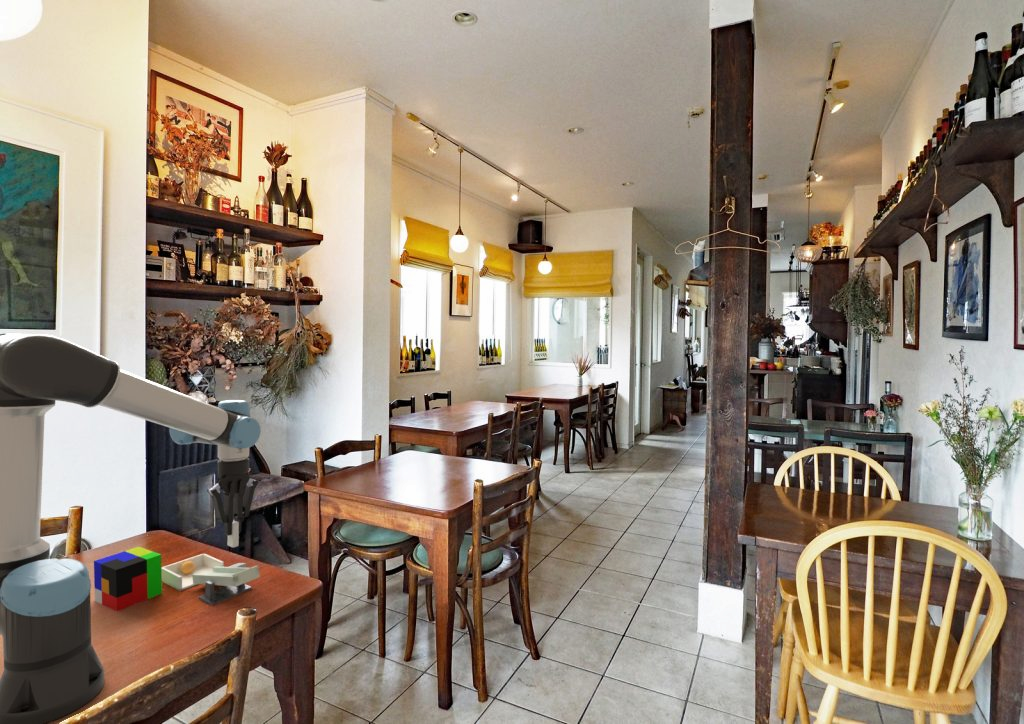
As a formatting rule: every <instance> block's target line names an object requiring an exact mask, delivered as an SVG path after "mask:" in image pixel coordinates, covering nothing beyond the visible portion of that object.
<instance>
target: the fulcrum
mask: <svg viewBox="0 0 1024 724" xmlns="http://www.w3.org/2000/svg"><path fill="white" fill-rule="evenodd" d="M204 585H205V590H204V591H205V593H204V594H202V595H200V596H198V600H200V601H202V602H204V603H206V604H207V605H210V606H211V607H212V606H214V605H217V604H221V603H222V602H225V601H227V600H229V599H232V598H234V597H237V596H238V595H241V594H243V593H246V592H249V591H251V590H252V588H253V587H252V586H250V585H248V584H246V583H244V584H241V585H239V586H236V587H234V586H222V587H219V588H217V589H215V585H214V582H212V581H207V582H205V584H204ZM250 589H251V590H250ZM248 590H249V591H248ZM245 591H246V592H245Z"/></svg>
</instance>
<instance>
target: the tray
mask: <svg viewBox="0 0 1024 724" xmlns="http://www.w3.org/2000/svg"><path fill="white" fill-rule="evenodd" d="M187 561H191V562H193V563H194V565H195V568H194V570H193V571H192V572H191V573H189V574H184V573H182V572H181V566H182V564H183V563H185V562H187ZM224 563H225V562H224V560H221V559H218V558H216V557H214V556H212V555H210V554H208V553H207V554H206V553H205V552H204V553H201V554H198V555H195V556H192V557H188V558H185V559H183V560H180V561H177V562H174V563H171V564H168V565H164V566H161V569H162V583H164V584H165V585H168V586H170V587H172V588H174V589H175V590H177V591H179V592H182V591H184V590H186V589H190V588H191V587H195V586H197V585H198V584H193V578H192V575H193V574H209V573H212V572H213V567H215V566H219V567H225V564H224Z"/></svg>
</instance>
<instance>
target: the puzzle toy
mask: <svg viewBox="0 0 1024 724" xmlns="http://www.w3.org/2000/svg"><path fill="white" fill-rule="evenodd" d="M161 567H162V554H161V553H158V552H156V551H152V550H150V549H147V548H144V547H141V546H136V547H134V548H130V549H127V550H125V551H121V552H118V553H116V554H112V555H109V556H105V557H102V558H99V559H96V560H93V577H94V580H93V584H94V602H96V603H98V604H100V605H103V606H104V607H106V608H109V609H111V610H114V611H115V612H119V611H122V610H125V609H127V608H130V607H132V606H135V605H137V604H139V603H142V602H144V601H147V600H149V599H151V598H154V597H156V596H159V595H162V594H163V588H162V587H163V584H162V583H163V582H162V569H161Z"/></svg>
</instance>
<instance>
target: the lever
mask: <svg viewBox="0 0 1024 724" xmlns="http://www.w3.org/2000/svg"><path fill="white" fill-rule="evenodd" d="M260 577H261V574H260V568H259V565H253V566H252V567H248V565H247V563H246V562H238V563H234V564H232V565H230V566H224V567H219V566H215V567H213V572H212V573H209V574H193V575H192V578H193V584H197V585H205V582H207V581H212V582H214V586H222V587H224V586H234V587H236V586H239V585H241V584H244V583H245V584H246V583H248V582H251V581H254V580H255V579H258V578H260Z"/></svg>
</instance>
